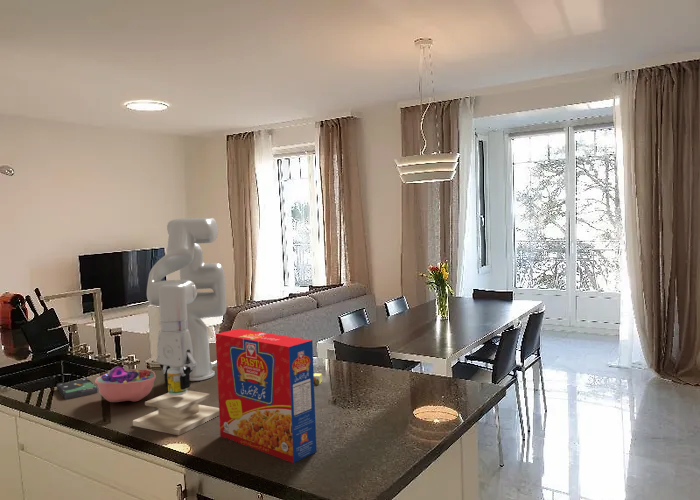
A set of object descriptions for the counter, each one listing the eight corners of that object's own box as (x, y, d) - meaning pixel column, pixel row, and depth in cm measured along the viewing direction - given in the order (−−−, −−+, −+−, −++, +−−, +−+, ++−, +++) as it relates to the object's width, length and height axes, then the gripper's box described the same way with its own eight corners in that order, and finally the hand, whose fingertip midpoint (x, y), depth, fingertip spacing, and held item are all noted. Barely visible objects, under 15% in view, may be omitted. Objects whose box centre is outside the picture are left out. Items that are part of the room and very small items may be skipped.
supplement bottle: (188, 394, 161) (186, 361, 160) (169, 397, 158) (167, 364, 158) (186, 389, 165) (184, 357, 165) (167, 391, 163) (165, 360, 163)
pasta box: (220, 436, 149) (215, 333, 147) (243, 426, 155) (239, 328, 153) (293, 463, 131) (288, 347, 129) (316, 451, 137) (312, 340, 135)
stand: (179, 405, 174) (178, 385, 174) (223, 413, 166) (222, 392, 166) (132, 425, 159) (131, 403, 158) (179, 435, 150) (177, 412, 150)
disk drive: (56, 391, 196) (65, 400, 185) (55, 383, 196) (65, 392, 184) (87, 385, 203) (98, 393, 191) (87, 377, 203) (98, 385, 191)
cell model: (133, 412, 170) (131, 376, 169) (83, 406, 177) (81, 372, 176) (169, 395, 186) (167, 362, 185) (122, 390, 193) (120, 358, 192)
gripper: (143, 326, 161) (146, 387, 163) (186, 330, 153) (190, 394, 155) (162, 321, 168) (166, 380, 169) (205, 325, 160) (208, 386, 161)
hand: (177, 386), depth 162 cm, fingers closed on supplement bottle, 5 cm apart
